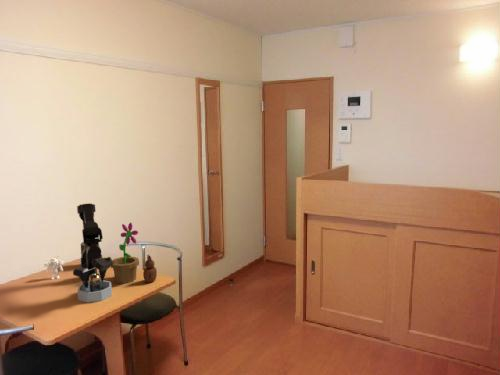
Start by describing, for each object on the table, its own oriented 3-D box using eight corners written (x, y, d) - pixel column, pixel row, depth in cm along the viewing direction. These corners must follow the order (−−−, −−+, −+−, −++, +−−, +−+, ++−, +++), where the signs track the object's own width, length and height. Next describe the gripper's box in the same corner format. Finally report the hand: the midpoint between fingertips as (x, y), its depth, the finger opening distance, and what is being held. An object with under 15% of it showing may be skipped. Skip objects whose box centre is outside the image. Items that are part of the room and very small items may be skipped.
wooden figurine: (149, 284, 200) (148, 256, 198) (141, 282, 203) (140, 254, 201) (159, 280, 206) (158, 252, 204) (151, 278, 209) (150, 250, 207)
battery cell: (95, 290, 191) (94, 271, 189) (102, 292, 189) (101, 273, 187) (88, 294, 187) (86, 274, 185) (95, 295, 185) (93, 276, 183)
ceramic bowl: (96, 287, 197) (95, 278, 197) (118, 292, 191) (117, 283, 190) (71, 298, 184) (71, 289, 184) (94, 304, 178) (93, 294, 177)
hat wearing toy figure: (64, 275, 213) (62, 254, 211) (64, 277, 209) (63, 256, 207) (45, 278, 208) (43, 256, 207) (45, 281, 205) (43, 258, 203)
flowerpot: (145, 277, 210) (143, 222, 205) (125, 287, 197) (123, 228, 193) (125, 273, 216) (123, 219, 212) (105, 282, 204) (101, 225, 199)
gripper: (89, 261, 173) (91, 294, 175) (120, 249, 189) (122, 280, 192) (71, 257, 178) (73, 290, 180) (103, 246, 194) (105, 276, 197)
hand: (94, 284), depth 187 cm, fingers open, 9 cm apart
